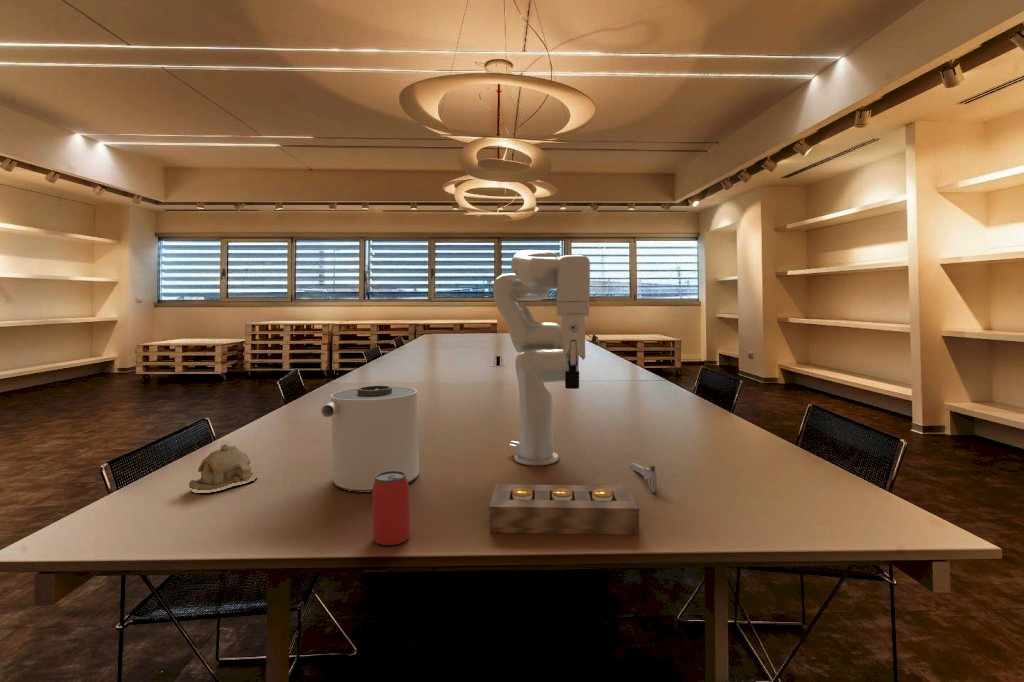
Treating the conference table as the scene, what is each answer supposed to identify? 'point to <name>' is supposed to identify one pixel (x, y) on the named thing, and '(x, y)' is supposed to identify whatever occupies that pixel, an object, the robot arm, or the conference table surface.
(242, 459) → the ceramic model
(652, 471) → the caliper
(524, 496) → the left knob
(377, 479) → the beer can
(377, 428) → the humidifier
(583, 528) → the knob console
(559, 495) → the middle knob
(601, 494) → the right knob
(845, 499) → the conference table surface
